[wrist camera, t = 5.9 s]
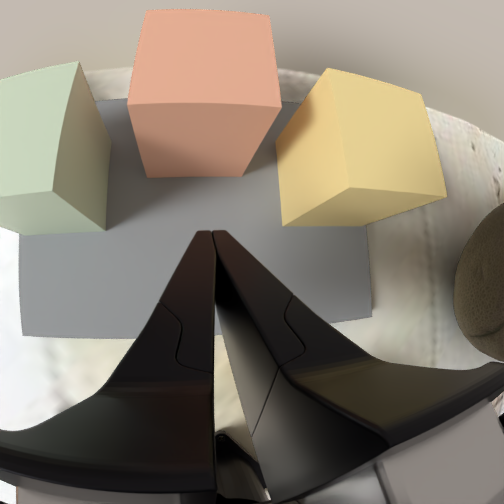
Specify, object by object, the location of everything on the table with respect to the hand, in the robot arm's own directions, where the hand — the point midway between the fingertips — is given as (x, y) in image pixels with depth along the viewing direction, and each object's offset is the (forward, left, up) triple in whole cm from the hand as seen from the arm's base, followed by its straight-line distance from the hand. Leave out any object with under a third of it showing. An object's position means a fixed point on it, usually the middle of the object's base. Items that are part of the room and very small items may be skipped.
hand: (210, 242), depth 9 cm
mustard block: (-1, -10, -10) cm, 14 cm away
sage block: (+9, +4, -10) cm, 14 cm away
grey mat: (+3, -2, -11) cm, 11 cm away
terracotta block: (+7, -5, -10) cm, 13 cm away
